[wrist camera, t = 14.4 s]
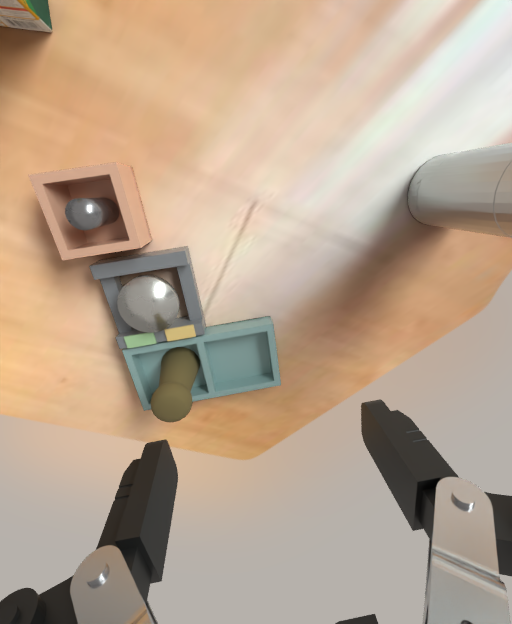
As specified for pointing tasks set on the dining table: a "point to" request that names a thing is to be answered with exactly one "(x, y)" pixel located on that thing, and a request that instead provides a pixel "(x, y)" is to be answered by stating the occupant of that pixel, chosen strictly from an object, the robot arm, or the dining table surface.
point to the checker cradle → (150, 261)
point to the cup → (93, 184)
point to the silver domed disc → (148, 303)
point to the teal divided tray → (214, 360)
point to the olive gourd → (175, 384)
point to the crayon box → (25, 14)
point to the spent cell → (91, 212)
